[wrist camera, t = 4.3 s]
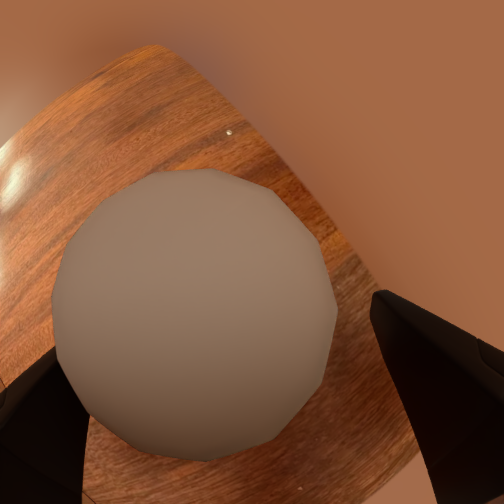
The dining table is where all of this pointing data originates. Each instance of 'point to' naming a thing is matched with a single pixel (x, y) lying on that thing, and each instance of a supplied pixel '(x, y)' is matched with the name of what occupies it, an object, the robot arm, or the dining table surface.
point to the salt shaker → (193, 314)
